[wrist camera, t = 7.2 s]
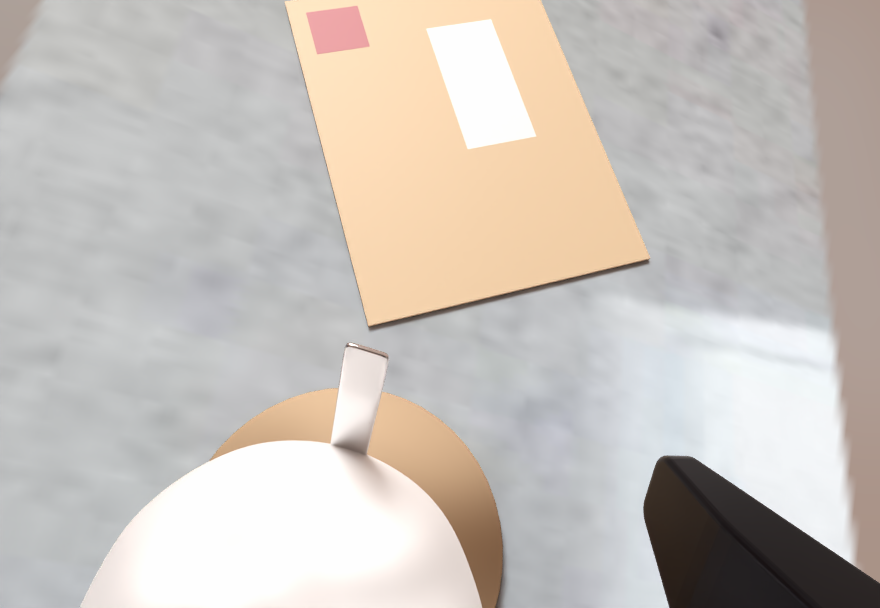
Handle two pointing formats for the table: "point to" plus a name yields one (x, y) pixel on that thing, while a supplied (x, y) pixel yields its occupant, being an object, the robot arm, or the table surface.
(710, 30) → the table surface
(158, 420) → the table surface
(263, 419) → the coaster
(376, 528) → the milkshake
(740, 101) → the table surface
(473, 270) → the envelope
